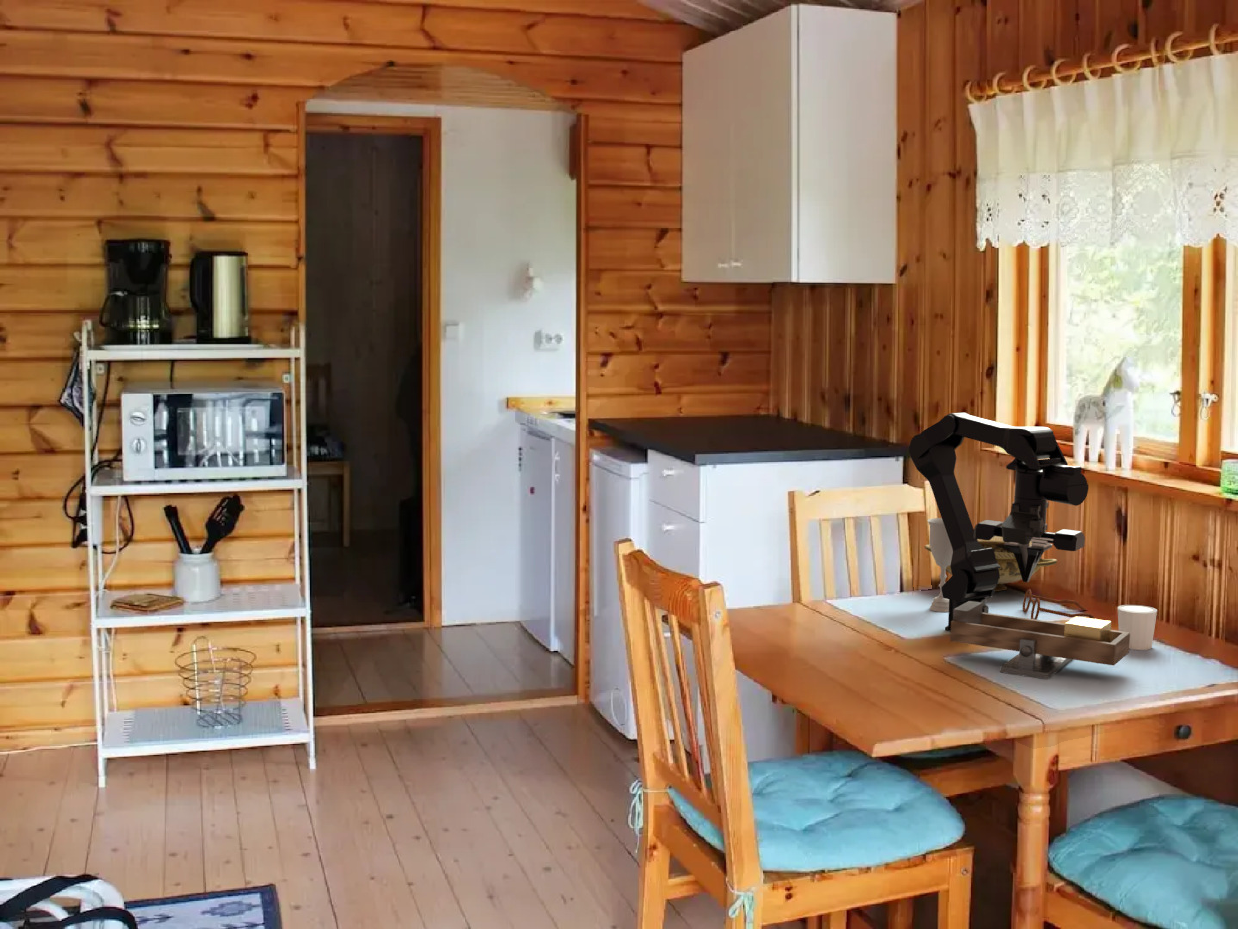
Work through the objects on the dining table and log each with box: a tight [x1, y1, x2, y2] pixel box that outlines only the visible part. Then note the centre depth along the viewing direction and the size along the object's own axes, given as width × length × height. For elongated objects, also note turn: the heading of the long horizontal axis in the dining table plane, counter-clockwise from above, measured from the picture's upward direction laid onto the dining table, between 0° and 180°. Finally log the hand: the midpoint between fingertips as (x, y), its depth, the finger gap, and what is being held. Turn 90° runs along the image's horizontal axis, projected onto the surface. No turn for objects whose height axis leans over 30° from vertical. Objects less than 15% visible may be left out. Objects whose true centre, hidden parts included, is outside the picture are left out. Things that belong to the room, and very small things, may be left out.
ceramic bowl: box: [924, 536, 1058, 592], centre depth 315 cm, size 30×24×10 cm
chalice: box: [927, 517, 953, 613], centre depth 294 cm, size 7×7×18 cm
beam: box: [949, 601, 1130, 667], centre depth 253 cm, size 28×10×6 cm, turn 58°
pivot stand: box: [999, 638, 1073, 680], centre depth 253 cm, size 8×16×6 cm, turn 148°
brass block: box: [1064, 616, 1112, 643], centre depth 248 cm, size 6×6×4 cm
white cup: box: [1117, 604, 1158, 651], centre depth 266 cm, size 7×7×7 cm
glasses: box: [1022, 588, 1096, 620], centre depth 289 cm, size 13×13×5 cm
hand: (1025, 581), depth 266 cm, fingers closed
